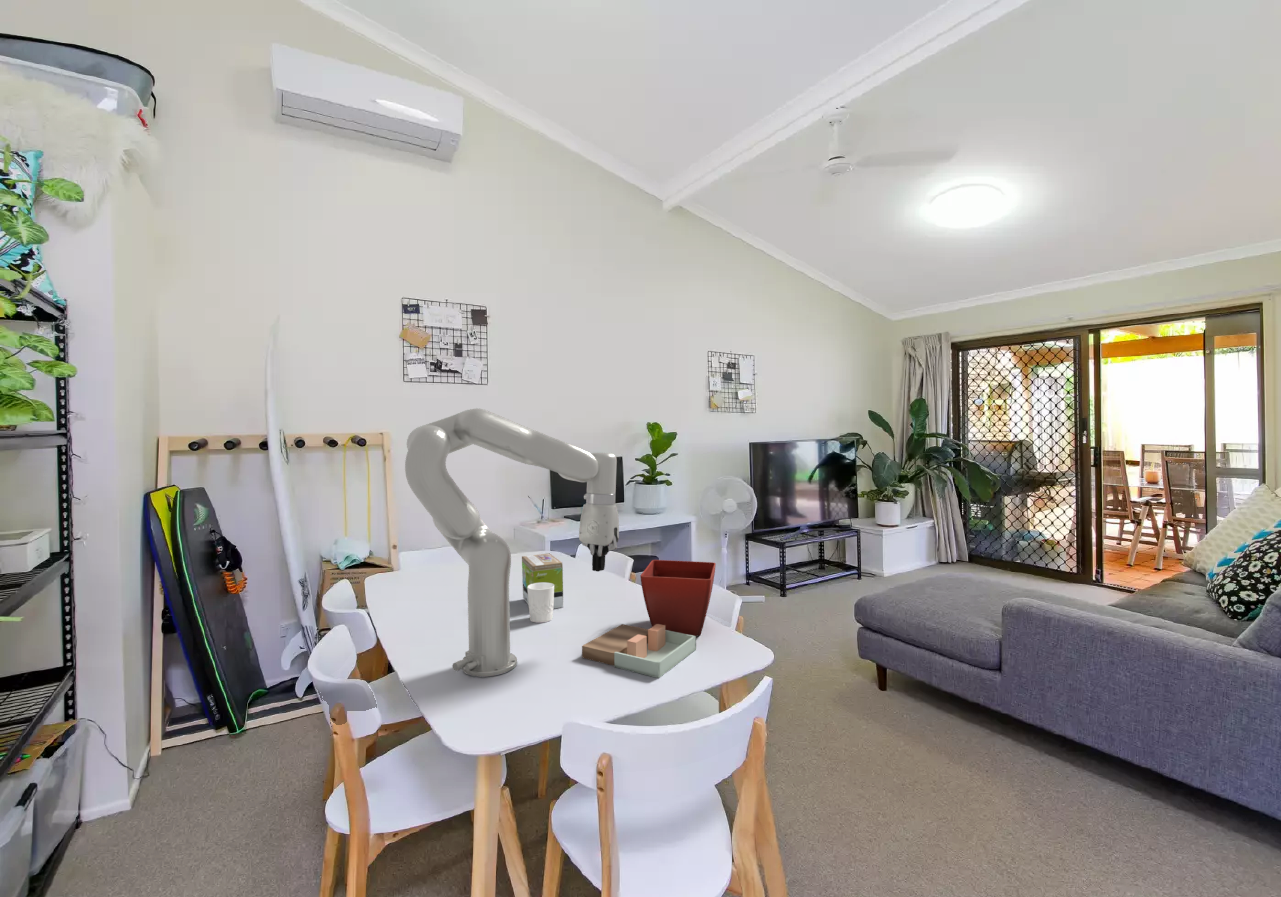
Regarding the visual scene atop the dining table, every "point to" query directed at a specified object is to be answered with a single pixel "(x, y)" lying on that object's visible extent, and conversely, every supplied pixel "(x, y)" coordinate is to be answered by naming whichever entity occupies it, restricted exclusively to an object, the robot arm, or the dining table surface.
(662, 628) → the tile
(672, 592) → the plant pot
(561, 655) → the dining table surface
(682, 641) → the tray
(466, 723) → the dining table surface
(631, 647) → the tile
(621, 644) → the board
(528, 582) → the tea box
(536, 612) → the white cup
